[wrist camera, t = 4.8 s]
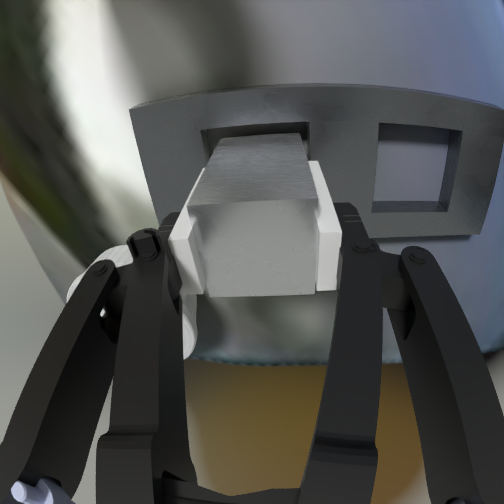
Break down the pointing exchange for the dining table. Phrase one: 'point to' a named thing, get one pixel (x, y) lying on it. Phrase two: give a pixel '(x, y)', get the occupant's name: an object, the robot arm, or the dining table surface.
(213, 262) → the matte gray foam brick
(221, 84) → the dining table surface
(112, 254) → the ramekin
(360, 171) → the grey flat rectangular block
